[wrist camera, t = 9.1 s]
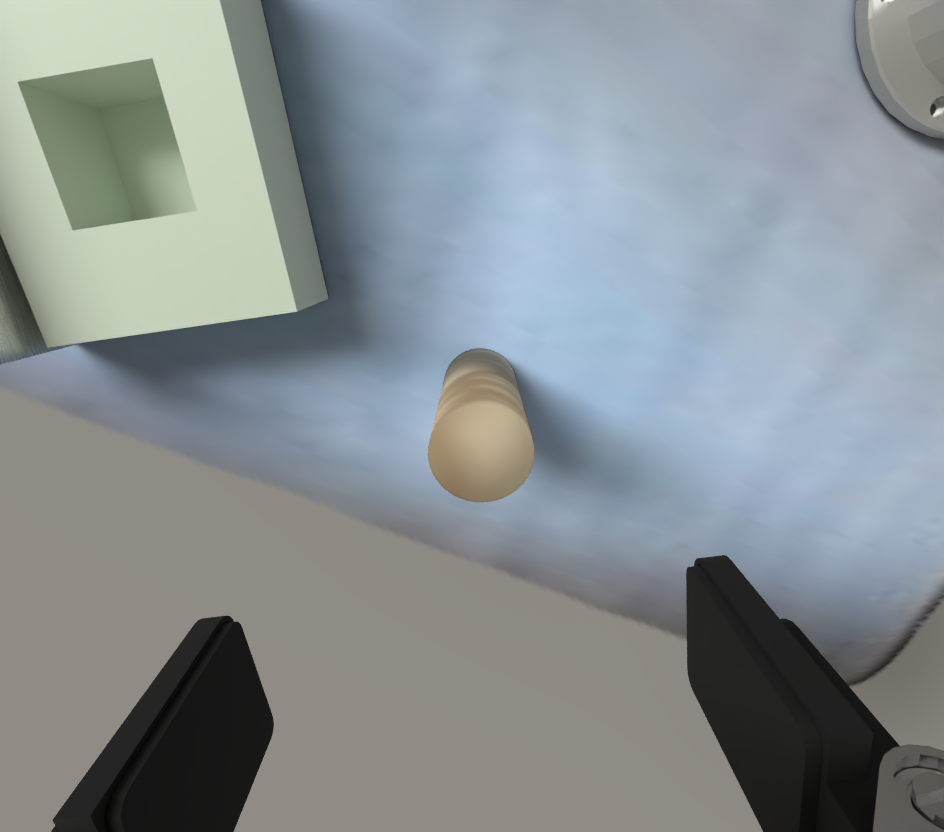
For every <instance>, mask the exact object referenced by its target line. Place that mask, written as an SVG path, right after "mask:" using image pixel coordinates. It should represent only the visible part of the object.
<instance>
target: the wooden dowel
mask: <svg viewBox="0 0 944 832" xmlns="http://www.w3.org/2000/svg"><path fill="white" fill-rule="evenodd" d="M534 455H535V453H534V444H533V439H532V436H531V432H530V428H529V425H528V421H527V418H526V414H525V410H524V407H523V403H522V399H521V396H520V392H519V388H518V385H517V381H516V378H515V374H514V371H513V369H512V367H511V365H510V364H509V362H508V361H507V360H506V359H505V358H504V357H503V356H502V355H500V354H499V353H497V352H495V351H492V350H488V349H472V350H468V351H465V352H463V353H461V354H460V355H459V356H457V357H456V358H455V359H454V360H453V361H452V362H451V364H450V365H449V367H448V369H447V371H446V374H445V378H444V382H443V386H442V391H441V395H440V399H439V403H438V408H437V412H436V416H435V420H434V425H433V429H432V433H431V437H430V442H429V447H428V459H429V464H430V468H431V470H432V473H433V475H434V477H435V478H436V480H437V481H438V482H439V484H440V485H441V486H442V487H443V488H444V489H445V490H447V491H448V492H449V493H451V494H453V495H454V496H456V497H459V498H461V499H464V500H467V501H472V502H490V501H495V500H499V499H502V498H504V497H506V496H508V495H510V494H511V493H513V492H514V491H516V490H517V489H518V488H519V487H520V486H521V485H522V484H523V483H524V482H525V480H526V479H527V477H528V476H529V474H530V472H531V469H532V467H533V463H534Z"/></svg>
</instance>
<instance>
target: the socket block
mask: <svg viewBox="0 0 944 832" xmlns="http://www.w3.org/2000/svg"><path fill="white" fill-rule="evenodd" d="M0 234H1V237H2V239H3V241H4V244H5V246H6V249H7V251H8V254H9V256H10V258H11V261H12V263H13V266H14V268H15V270H16V273H17V275H18V278H19V280H20V283H21V285H22V287H23V290H24V292H25V295H26V297H27V299H28V302H29V304H30V307H31V309H32V312H33V314H34V316H35V319H36V321H37V324H38V326H39V328H40V331H41V333H42V336H43V338H44V341H45V343H46V345H47V348H49V347H56V346H63V345H70V344H76V343H83V342H90V341H97V340H104V339H111V338H118V337H125V336H132V335H139V334H146V333H153V332H160V331H167V330H173V329H180V328H187V327H194V326H201V325H208V324H215V323H222V322H229V321H236V320H243V319H250V318H257V317H264V316H270V315H277V314H284V313H291V312H298V311H300V310H302V309H305V308H307V307H310V306H312V305H315V304H317V303H320V302H322V301H325V300H327V299H328V294H327V290H326V285H325V281H324V277H323V272H322V268H321V263H320V259H319V255H318V250H317V246H316V241H315V237H314V233H313V228H312V224H311V219H310V215H309V211H308V206H307V202H306V198H305V193H304V189H303V184H302V180H301V176H300V171H299V167H298V162H297V158H296V154H295V149H294V145H293V140H292V136H291V132H290V127H289V123H288V118H287V114H286V110H285V105H284V101H283V96H282V92H281V88H280V83H279V79H278V74H277V70H276V66H275V61H274V57H273V52H272V48H271V44H270V39H269V35H268V30H267V26H266V22H265V17H264V13H263V8H262V4H261V0H0Z"/></svg>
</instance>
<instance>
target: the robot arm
mask: <svg viewBox="0 0 944 832" xmlns="http://www.w3.org/2000/svg"><path fill="white" fill-rule="evenodd" d="M855 23H856V43H857V47H858V51H859V56H860V60H861V64H862V69H863V71H864V73H865V76H866V78H867V80H868V82H869V84H870V86H871V88H872V91H873V93H874V94H875V95H876V97H877V98H878V99H879V101H880V102H881V103H882V104H883V106H884V107H885V108H886V109H887V111H888V112H889V113H890V114H891V115H893V116H894V117H895V118H897V119H898V120H899V121H901V122H902V123H903V124H904V125H906V126H907V127H909V128H911V129H913V130H916V131H918V132H920V133H923V134H925V135H927V136H930V137H936V138H942V139H944V0H856V7H855ZM686 579H687V665H688V666H687V667H688V668H687V669H688V676H689V681H690V684H691V687H692V689H693V692H694V694H695V696H696V698H697V700H698V702H699V704H700V706H701V708H702V710H703V712H704V714H705V716H706V718H707V720H708V722H709V724H710V726H711V728H712V730H713V732H714V734H715V736H716V738H717V740H718V742H719V744H720V746H721V748H722V750H723V752H724V754H725V756H726V758H727V760H728V762H729V764H730V766H731V768H732V770H733V772H734V774H735V776H736V778H737V780H738V782H739V784H740V786H741V788H742V790H743V792H744V794H745V796H746V798H747V800H748V802H749V804H750V806H751V808H752V810H753V812H754V814H755V816H756V818H757V820H758V822H759V824H760V826H761V828H762V830H763V832H944V751H942V750H938V749H935V748H932V747H929V746H920V745H904V746H899V745H898V743H897V742H896V741H895V740H894V739H893V738H892V736H891V735H890V734H889V733H888V732H887V731H886V729H885V728H884V727H883V726H882V725H881V724H880V722H879V721H878V720H877V719H876V718H875V717H874V715H873V714H872V713H871V712H870V711H869V710H868V708H867V707H866V706H865V705H864V704H863V703H862V701H861V700H860V699H859V698H858V697H857V696H856V694H855V693H854V692H853V691H852V690H851V689H850V687H849V686H848V685H847V684H846V683H845V682H844V680H843V679H842V678H841V677H840V676H839V675H838V673H837V672H836V671H835V670H834V669H833V668H832V666H831V665H830V664H829V663H828V662H827V661H826V659H825V658H824V657H823V656H822V655H821V654H820V652H819V651H818V650H817V649H816V648H815V646H814V645H813V644H812V643H811V642H810V641H809V639H808V638H807V637H806V636H805V635H804V634H803V632H802V631H801V630H800V629H799V628H798V627H797V626H796V625H795V624H794V623H793V622H792V621H790V620H788V619H779V618H778V617H777V615H776V614H775V613H774V612H773V611H772V609H771V608H770V607H769V606H768V604H767V603H766V602H765V601H764V600H763V598H762V597H761V596H760V595H759V594H758V592H757V591H756V590H755V589H754V588H753V586H752V585H751V584H750V583H749V581H748V580H747V579H746V578H745V577H744V575H743V574H742V573H741V572H740V571H739V569H738V568H737V567H736V566H735V564H734V563H733V562H732V561H731V560H730V559H729V558H728V557H727V556H725V555H722V556H714V557H706V558H698V559H696V560H695V563H694V566H693V567H688V568H687V573H686ZM273 724H274V723H273V717H272V713H271V710H270V707H269V704H268V701H267V698H266V696H265V693H264V690H263V687H262V684H261V681H260V678H259V675H258V672H257V670H256V667H255V664H254V661H253V658H252V655H251V652H250V649H249V646H248V643H247V641H246V638H245V635H244V632H243V629H242V627H241V624H240V623H239V622H234V621H233V619H232V618H231V617H230V616H220V617H211V618H203V619H201V620H198V621H197V622H196V623H195V624H194V626H193V627H192V629H191V630H190V631H189V633H188V634H187V635H186V637H185V638H184V640H183V641H182V642H181V644H180V645H179V646H178V648H177V649H176V651H175V652H174V653H173V655H172V656H171V658H170V659H169V660H168V662H167V663H166V664H165V666H164V667H163V668H162V670H161V671H160V673H159V674H158V675H157V677H156V678H155V680H154V681H153V682H152V684H151V685H150V686H149V688H148V689H147V691H146V692H145V693H144V695H143V696H142V697H141V699H140V700H139V702H138V703H137V704H136V706H135V707H134V708H133V710H132V711H131V713H130V714H129V715H128V717H127V718H126V720H125V721H124V722H123V724H122V725H121V726H120V728H119V729H118V730H117V732H116V733H115V735H114V736H113V737H112V739H111V740H110V742H109V743H108V744H107V746H106V747H105V748H104V750H103V751H102V753H101V754H100V755H99V757H98V758H97V760H96V761H95V762H94V764H93V765H92V766H91V768H90V769H89V770H88V772H87V773H86V775H85V776H84V777H83V779H82V780H81V782H80V783H79V784H78V786H77V787H76V788H75V790H74V791H73V793H72V794H71V795H70V797H69V798H68V799H67V801H66V802H65V804H64V805H63V806H62V808H61V809H60V810H59V812H58V813H57V815H56V816H55V817H54V819H53V822H54V824H55V825H56V826H55V827H54V828H53V830H52V832H233V831H234V829H235V827H236V824H237V822H238V819H239V817H240V814H241V811H242V809H243V807H244V804H245V802H246V799H247V797H248V794H249V792H250V789H251V787H252V784H253V782H254V779H255V777H256V774H257V772H258V770H259V767H260V764H261V762H262V759H263V757H264V755H265V752H266V750H267V747H268V745H269V742H270V740H271V736H272V733H273V726H274V725H273Z"/></svg>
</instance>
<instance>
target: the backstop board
mask: <svg viewBox="0 0 944 832" xmlns="http://www.w3.org/2000/svg"><path fill="white" fill-rule="evenodd" d="M83 343H84V342H83ZM77 344H80V343H76V344H70V345H63V346H56V347H49V348H47V345H46V343H45V341H44V338H43V336H42V333H41V331H40V328H39V326H38V324H37V321H36V319H35V316H34V314H33V312H32V309H31V307H30V304H29V302H28V299H27V297H26V295H25V292H24V290H23V287H22V285H21V283H20V280H19V278H18V275H17V273H16V270H15V268H14V266H13V263H12V261H11V258H10V256H9V254H8V251H7V249H6V246H5V244H4V241H3V239H2V237H1V234H0V365H1V364H5V363H9V362H13V361H16V360H20V359H24V358H28V357H31V356H35V355H39V354H43V353H47V352H50V351H54V350H58V349H62V348H65V347H69V346H73V345H77Z"/></svg>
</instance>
